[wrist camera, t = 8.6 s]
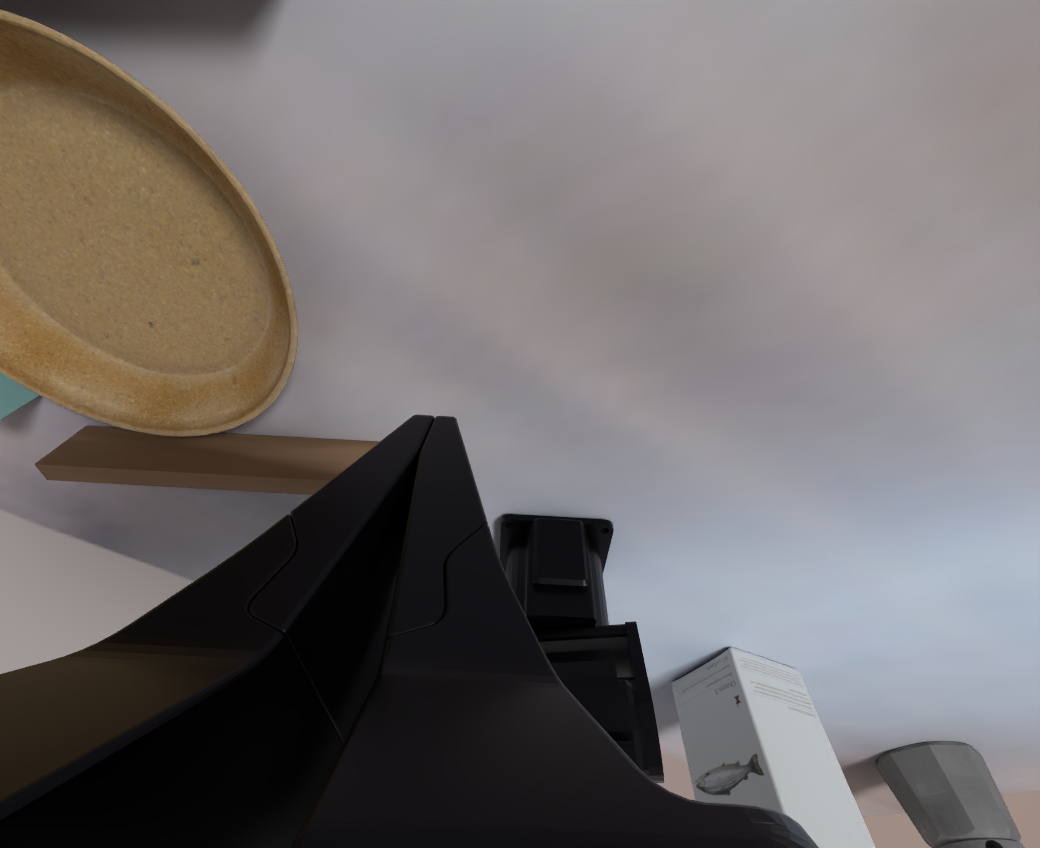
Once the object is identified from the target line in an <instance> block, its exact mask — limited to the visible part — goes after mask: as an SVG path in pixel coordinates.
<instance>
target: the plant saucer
mask: <svg viewBox="0 0 1040 848" xmlns="http://www.w3.org/2000/svg"><path fill="white" fill-rule="evenodd" d="M297 341H298V324H297V314H296V308H295V302H294V298H293V293H292V289H291V285H290V282H289V278H288V275H287V272H286V269H285V266H284V263H283V261H282V258H281V256H280V253H279V251H278V248H277V246H276V244H275V241H274V239H273V237H272V235H271V234H270V232H269V230H268V228H267V226H266V224H265V222H264V220H263V218H262V216H261V215H260V213H259V211H258V210H257V208H256V207H255V205H254V203H253V202H252V200H251V198H250V197H249V196H248V194H247V193H246V191H245V190H244V188H243V187H242V186H241V184H240V183H239V182H238V180H237V179H236V178H235V176H234V175H233V174H232V173H231V171H230V170H229V169H228V168H227V166H226V165H225V164H224V163H223V161H222V160H221V159H220V158H219V157H218V156H217V154H216V153H215V152H214V151H213V150H212V149H211V148H210V146H209V145H208V144H207V143H206V142H205V141H204V140H203V139H202V138H201V137H200V136H199V135H198V134H197V132H196V131H195V130H194V129H193V128H192V127H191V126H190V125H189V124H188V123H187V122H185V121H184V120H183V119H182V118H181V117H180V116H179V115H178V114H177V113H176V112H175V111H174V110H173V109H171V108H170V107H169V106H168V105H167V104H166V103H165V102H163V101H162V100H161V99H160V98H159V97H157V96H156V95H155V94H154V93H153V92H151V91H150V90H149V89H147V88H146V87H145V86H144V85H142V84H141V83H140V82H138V81H137V80H136V79H134V78H133V77H132V76H131V75H129V74H128V73H127V72H125V71H124V70H122V69H121V68H119V67H117V66H116V65H114V64H113V63H111V62H110V61H108V60H107V59H105V58H104V57H102V56H101V55H99V54H97V53H96V52H94V51H92V50H91V49H89V48H87V47H85V46H84V45H82V44H80V43H78V42H77V41H75V40H73V39H71V38H69V37H68V36H66V35H64V34H62V33H59V32H57V31H55V30H53V29H51V28H49V27H47V26H44V25H42V24H40V23H38V22H35V21H33V20H30V19H28V18H25V17H22V16H19V15H16V14H13V13H10V12H7V11H4V10H1V9H0V372H1V373H2V374H4V375H5V376H7V377H9V378H10V379H12V380H14V381H15V382H17V383H18V384H20V385H22V386H23V387H25V388H27V389H28V390H30V391H32V392H34V393H36V394H38V395H40V396H42V397H44V398H46V399H48V400H50V401H52V402H54V403H56V404H57V405H60V406H62V407H64V408H66V409H69V410H71V411H73V412H75V413H78V414H81V415H84V416H86V417H89V418H92V419H94V420H97V421H100V422H103V423H107V424H110V425H113V426H117V427H120V428H124V429H128V430H133V431H137V432H144V433H149V434H154V435H163V436H199V435H208V434H211V433H218V432H222V431H225V430H229V429H232V428H235V427H237V426H239V425H242V424H244V423H246V422H248V421H250V420H252V419H253V418H255V417H257V416H258V415H259V414H261V413H262V412H263V411H264V410H266V409H267V408H268V407H269V406H270V405H271V404H272V403H273V402H274V401H275V400H276V399H277V397H278V396H279V395H280V393H281V392H282V390H283V389H284V387H285V385H286V383H287V381H288V379H289V377H290V374H291V371H292V369H293V365H294V362H295V357H296V350H297Z"/></svg>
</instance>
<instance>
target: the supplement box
mask: <svg viewBox="0 0 1040 848" xmlns="http://www.w3.org/2000/svg"><path fill="white" fill-rule="evenodd" d="M671 686H672V691H673V696H674V700H675V705H676V710H677V715H678V720H679V724H680V729H681V734H682V739H683V743H684V748H685V752H686V757H687V762H688V766H689V771H690V775H691V780H692V785H693V790H694V795H695V799H696V801H700V802H706V803H721V804H738V805H748V806H757V807H762V808H767V809H772V810H775V811H778V812H780V813H783V814H786V815H787V816H789V817H790V818H792V819H793V820H795V821H796V822H798V823H799V824H800V825H801V826H802V828H803V829H804V830H805V831H806V832H807V834H808V835H809V836H810V837H811V839H812V840H813V841H814V842H815V843H816V845H817V846H818V847H819V848H875V845H874V843H873V840H872V838H871V836H870V834H869V831H868V829H867V827H866V825H865V822H864V820H863V818H862V815H861V813H860V811H859V809H858V806H857V804H856V802H855V799H854V797H853V795H852V793H851V790H850V788H849V786H848V783H847V781H846V779H845V776H844V774H843V772H842V769H841V767H840V765H839V763H838V760H837V758H836V756H835V753H834V751H833V749H832V746H831V744H830V742H829V740H828V737H827V735H826V733H825V730H824V728H823V726H822V724H821V721H820V719H819V717H818V714H817V712H816V710H815V708H814V705H813V703H812V701H811V698H810V696H809V694H808V691H807V689H806V687H805V685H804V682H803V680H802V678H801V675H800V673H799V671H798V670H796V669H793V668H791V667H788V666H785V665H782V664H779V663H776V662H774V661H771V660H768V659H765V658H763V657H760V656H757V655H753V654H751V653H748V652H745V651H742V650H739V649H736V648H732V647H729V648H728V649H727V650H726V651H725V652H723V653H722V654H721V655H719V656H717V657H716V658H714V659H713V660H711V661H709V662H708V663H706V664H704V665H703V666H701V667H699V668H697V669H696V670H694V671H692V672H690V673H689V674H687V675H685V676H684V677H682V678H680V679H677V680H675V681H674V682H673V683H671Z"/></svg>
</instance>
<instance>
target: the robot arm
mask: <svg viewBox="0 0 1040 848" xmlns="http://www.w3.org/2000/svg"><path fill="white" fill-rule="evenodd" d="M509 522H510V523H509ZM612 535H613V524H612V522H611V521H609V520H603V519H585V518H567V517H549V516H531V515H513V514H508V515H505V516H503V517H502V520H501V546H500V559H499V556H498V553H497V550H496V547H495V545H494V542H493V539H492V535H491V532H490V529H489V526H488V523H487V519H486V516H485V513H484V509H483V506H482V503H481V499H480V496H479V493H478V490H477V486H476V483H475V480H474V476H473V473H472V470H471V466H470V463H469V460H468V456H467V453H466V450H465V446H464V443H463V440H462V437H461V433H460V430H459V427H458V423H457V420H456V418H455V417H449V416H437V417H435V418H434V416H430V415H414V416H412V417H411V418H410V419H408V420H407V421H406V422H405V423H403V424H402V425H401V426H400V427H398V428H397V429H396V430H394V431H393V432H392V433H391V434H389V435H388V436H387V437H386V438H384V439H383V440H382V441H380V442H379V443H378V444H377V445H375V446H374V447H373V448H372V449H370V450H369V451H368V452H366V453H365V454H364V455H363V456H361V457H360V458H359V459H358V460H356V461H355V462H354V463H352V464H351V465H350V466H349V467H347V468H346V469H345V470H344V471H342V472H341V473H340V474H338V475H337V476H336V477H335V478H333V479H332V480H331V481H330V482H328V483H327V484H326V485H324V486H323V487H322V488H321V489H319V490H318V491H317V492H316V493H314V494H313V495H312V496H310V497H309V498H308V499H307V500H305V501H304V502H303V503H302V504H300V505H299V506H298V507H296V508H295V509H294V510H293V511H291V515H286V516H285V517H283V518H282V519H281V520H280V521H278V522H277V523H276V524H275V525H273V526H272V527H271V528H269V529H268V530H267V531H265V532H264V533H263V534H261V535H260V536H259V537H257V538H256V539H255V540H253V541H252V542H251V543H249V544H248V545H247V546H245V547H244V548H243V549H241V550H240V551H238V552H237V553H235V554H234V555H233V556H231V557H230V558H228V559H227V560H225V561H224V562H222V563H221V564H219V565H218V566H217V567H215V568H214V569H212V570H211V571H209V572H208V573H206V574H205V575H203V576H202V577H200V578H199V579H197V580H196V581H194V582H193V583H191V584H190V585H188V586H187V587H185V588H184V589H182V590H181V591H179V592H178V593H176V594H175V595H173V596H172V597H170V598H169V599H167V600H166V601H164V602H163V603H161V604H160V605H158V606H157V607H155V608H154V609H152V610H150V611H149V612H147V613H146V614H144V615H143V616H142V617H140V618H139V619H137V620H136V621H134V622H132V623H131V624H129V625H128V626H126V627H124V628H123V629H122V630H120V631H118V632H117V633H115V634H113V635H111V636H109V637H107V638H105V639H104V640H102V641H100V642H98V643H96V644H94V645H91V646H89V647H87V648H85V649H83V650H80V651H78V652H75V653H72V654H70V655H67V656H64V657H61V658H57V659H54V660H51V661H47V662H43V663H40V664H36V665H33V666H29V667H25V668H22V669H18V670H14V671H11V672H7V673H3V674H0V848H819V847H818V846H817V845H816V843H815V842H814V841H813V840H812V839H811V837H810V836H809V835H808V834H807V832H806V831H805V830H804V829H803V828H802V826H801V825H800V824H799V823H798V822H796V821H795V820H793V819H792V818H790V817H789V816H787V815H786V814H783V813H780V812H778V811H775V810H772V809H767V808H762V807H757V806H748V805H738V804H721V803H706V802H700V801H695V800H689V799H686V798H684V797H682V796H679V795H677V794H674V793H672V792H669V791H668V790H666V789H665V788H663V787H662V786H660V785H658V784H657V783H664V773H663V765H662V758H661V750H660V743H659V737H658V730H657V724H656V719H655V713H654V707H653V702H652V697H651V692H650V687H649V682H648V677H647V672H646V667H645V663H644V658H643V653H642V648H641V643H640V638H639V634H638V629H637V624H636V622H625V624H620V625H609V622H608V614H607V606H606V598H605V590H604V583H603V571H604V567H605V563H606V559H607V555H608V551H609V547H610V543H611V539H612Z"/></svg>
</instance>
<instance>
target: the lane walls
mask: <svg viewBox="0 0 1040 848" xmlns="http://www.w3.org/2000/svg"><path fill="white" fill-rule="evenodd" d="M378 443H379V442H373V441H355V440H337V439H319V438H301V437H283V436H264V435H246V434H228V433H211V434H208V435H199V436H163V435H154V434H149V433H144V432H137V431H133V430H128V429H124V428H119V427H101V426H85V427H84V428H83V429H81V430H80V431H79V432H77V433H76V434H75V435H73V436H72V437H71V438H69V439H68V440H67V441H65V442H64V443H62V444H61V445H60V446H58V447H57V448H56V449H54V450H53V451H52V452H50V453H49V454H48V455H46V456H45V457H44V458H42V459H41V460H40V461H38V462H37V463H36V464H35V466H36V467H37V468H38V469H39V470H40V472H41V473H42V474H43V475H44V477H45V478H46V479H47V480H59V481H77V482H95V483H113V484H131V485H149V486H167V487H185V488H203V489H221V490H239V491H257V492H275V493H293V494H311V495H313V494H314V493H316V492H317V491H318V490H319V489H321V488H322V487H323V486H324V485H326V484H327V483H328V482H330V481H331V480H332V479H333V478H335V477H336V476H337V475H338V474H340V473H341V472H342V471H344V470H345V469H346V468H347V467H349V466H350V465H351V464H352V463H354V462H355V461H356V460H358V459H359V458H360V457H361V456H363V455H364V454H365V453H366V452H368V451H369V450H370V449H372V448H373V447H374V446H375V445H377V444H378Z"/></svg>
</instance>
